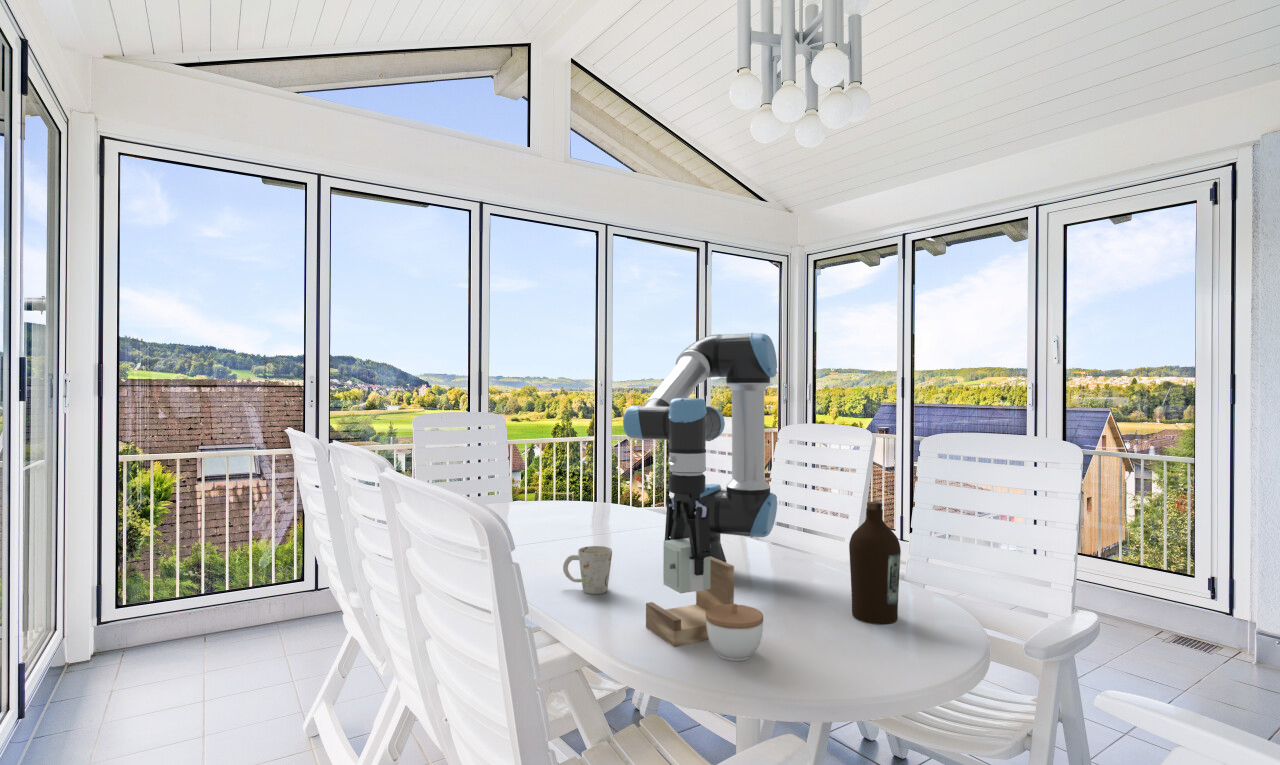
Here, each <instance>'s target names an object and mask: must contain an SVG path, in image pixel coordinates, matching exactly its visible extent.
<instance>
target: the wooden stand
mask: <svg viewBox="0 0 1280 765" xmlns="http://www.w3.org/2000/svg"><path fill="white" fill-rule="evenodd" d="M734 590H735V566H734V564H731V563H729V562H727V563H726V562H723V561H721V560H719V559H716V558H714V557H711V576H710V589H707V590H701V591H695V592H696V593H695V594H696V595H695V597H696V598H695V599H696V600H695V601H696V602H695V604H692V605H684V606H678V607H673V608H672V607H671V608H666V609H665V608H663V607H661V606H660V605H659V604H656V603H655V602H653V601H649V602H646V603H645V628H647V629H648V630H649V631H651V632H653V633H654V634H655V635H656V636H657V637H660V638H661V639H662V640H664V641H665V642H667V643H668V644H669V645H671V646H672V647H674V648H675V647H681V646H686V645H691V644H695V643H696V644H697V643H702V642H706V641H708V642H709V639H708V635H707V629H706V611H707V610H708V609H709V608H711V607H713V606H717V605H725V604H735V596H734V595H735V591H734Z"/></svg>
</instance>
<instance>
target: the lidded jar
mask: <svg viewBox="0 0 1280 765" xmlns="http://www.w3.org/2000/svg"><path fill="white" fill-rule="evenodd" d="M763 623H764V614H763V612H762V611H760V609H757V608H755V607H752V606H750V605H749V606H748V605H742V604H737V603H734V604H725V605H717V606H713V607H711V608H709V609H708V610H707V611H706V629H707V635H708V639H709V640H708V642H709V644H710V646H711V647H712V649H713V650H714V651H715V652H716V653H717V656H718V657H719V658H721V659H722V660H725V661H729V662H742V661H743V662H744V661H746V660H748V659H750V658H751V656H752V655H753V654H754V653H755V652H756V651H757V650H758V648H759V647H760V644H761V641H762V637H763V627H764V624H763Z"/></svg>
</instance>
